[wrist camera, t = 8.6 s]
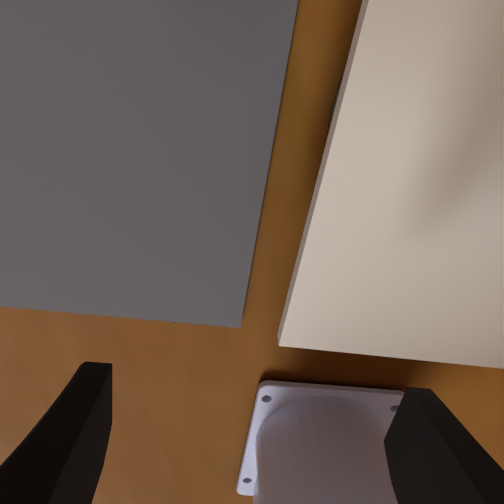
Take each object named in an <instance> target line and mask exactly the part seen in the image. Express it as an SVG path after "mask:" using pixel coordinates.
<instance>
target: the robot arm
mask: <svg viewBox="0 0 504 504" xmlns="http://www.w3.org/2000/svg"><path fill="white" fill-rule="evenodd" d="M267 395H268V396H267ZM265 396H267V397H265ZM394 405H395V406H394ZM111 426H112V364H111V363H98V362H84V363H83V364H81V365H80V366H79V368H78V370H77V371H76V373H75V374H74V376H73V377H72V379H71V380H70V381H69V383H68V384H67V386H66V387H65V388H64V390H63V391H62V393H61V394H60V395H59V397H58V398H57V399H56V401H55V402H54V403H53V404H52V406H51V407H50V408H49V410H48V411H47V412H46V413H45V415H44V416H43V417H42V418H41V419H40V421H39V422H38V423H37V424H36V426H35V427H34V428H33V429H32V430H31V432H30V433H29V434H28V435H27V437H26V438H25V439H24V440H23V441H22V442H21V444H20V445H19V446H18V447H17V448H16V449H15V450H14V451H13V452H12V454H11V455H10V456H9V457H8V458H7V459H6V460H5V461H4V462H3V463H2V465H1V466H0V504H91V503H92V500H93V497H94V494H95V491H96V487H97V484H98V481H99V478H100V475H101V471H102V468H103V464H104V460H105V455H106V450H107V446H108V441H109V436H110V431H111ZM237 492H238V493H239V494H241V495H251V496H253V504H504V470H503V469H502V468H501V467H500V466H499V465H498V464H497V463H496V462H495V461H494V460H493V458H492V457H491V456H490V455H489V454H488V453H487V452H486V451H485V450H484V449H483V447H482V446H481V445H480V444H479V443H478V442H477V441H476V440H475V439H474V437H473V436H472V435H471V434H470V433H469V432H468V431H467V429H466V428H465V427H464V426H463V425H462V424H461V423H460V422H459V420H458V419H457V418H456V417H455V416H454V415H453V414H452V412H451V411H450V410H449V409H448V408H447V407H446V406H445V404H444V403H443V402H442V401H441V400H440V399H439V398H438V397H437V396H436V394H435V393H434V392H433V391H432V390H431V389H425V388H413V387H407V388H406V391H405V393H404V392H402V391H399V390H386V389H374V388H361V387H348V386H336V385H323V384H310V383H297V382H285V381H272V380H266V381H263V382H261V383H260V384H259V386H258V390H257V394H256V399H255V403H254V408H253V412H252V417H251V421H250V426H249V431H248V435H247V440H246V444H245V449H244V453H243V458H242V462H241V467H240V472H239V476H238V481H237Z"/></svg>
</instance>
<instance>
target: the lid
mask: <svg viewBox="0 0 504 504" xmlns="http://www.w3.org/2000/svg"><path fill="white" fill-rule="evenodd" d="M277 337H278V345H279V346H285V347H295V348H305V349H314V350H324V351H334V352H344V353H354V354H364V355H374V356H383V357H393V358H403V359H413V360H423V361H433V362H443V363H452V364H462V365H472V366H482V367H492V368H502V369H504V0H363V1H362V4H361V8H360V12H359V16H358V20H357V24H356V28H355V32H354V36H353V40H352V44H351V48H350V51H349V55H348V59H347V63H346V67H345V71H344V75H343V79H342V83H341V87H340V91H339V95H338V98H337V102H336V106H335V110H334V114H333V118H332V122H331V126H330V130H329V134H328V138H327V142H326V145H325V149H324V153H323V157H322V161H321V165H320V169H319V173H318V177H317V181H316V185H315V189H314V192H313V196H312V200H311V204H310V208H309V212H308V216H307V220H306V224H305V228H304V232H303V236H302V239H301V243H300V247H299V251H298V255H297V259H296V263H295V267H294V271H293V275H292V279H291V283H290V286H289V290H288V294H287V298H286V302H285V306H284V310H283V314H282V318H281V322H280V326H279V330H278V333H277Z"/></svg>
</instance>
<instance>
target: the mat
mask: <svg viewBox="0 0 504 504" xmlns="http://www.w3.org/2000/svg"><path fill="white" fill-rule="evenodd" d="M297 5H298V0H0V306H2V307H13V308H24V309H36V310H47V311H58V312H69V313H80V314H91V315H102V316H113V317H124V318H135V319H147V320H158V321H169V322H180V323H191V324H202V325H213V326H224V327H235V328H240V326H241V321H242V315H243V309H244V304H245V298H246V293H247V287H248V281H249V276H250V270H251V264H252V259H253V253H254V247H255V242H256V236H257V231H258V225H259V219H260V214H261V208H262V202H263V197H264V191H265V186H266V180H267V174H268V169H269V163H270V157H271V152H272V146H273V140H274V135H275V129H276V124H277V118H278V112H279V107H280V101H281V95H282V90H283V84H284V79H285V73H286V67H287V62H288V56H289V50H290V45H291V39H292V33H293V28H294V22H295V17H296V11H297Z"/></svg>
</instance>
